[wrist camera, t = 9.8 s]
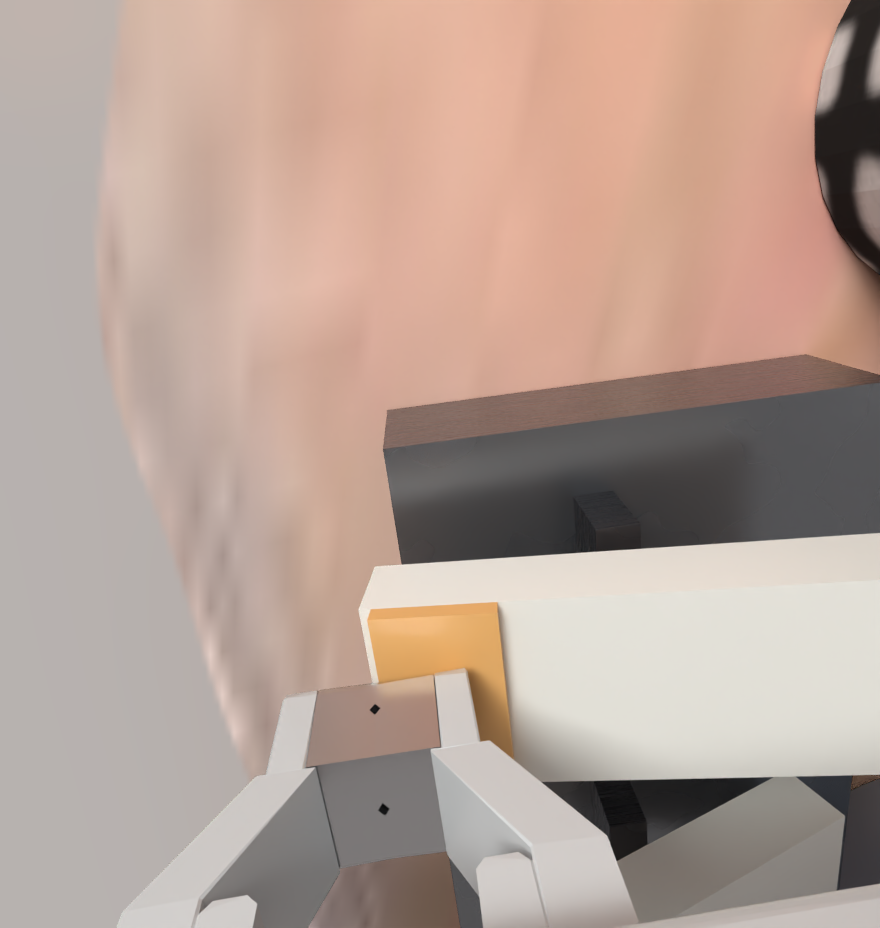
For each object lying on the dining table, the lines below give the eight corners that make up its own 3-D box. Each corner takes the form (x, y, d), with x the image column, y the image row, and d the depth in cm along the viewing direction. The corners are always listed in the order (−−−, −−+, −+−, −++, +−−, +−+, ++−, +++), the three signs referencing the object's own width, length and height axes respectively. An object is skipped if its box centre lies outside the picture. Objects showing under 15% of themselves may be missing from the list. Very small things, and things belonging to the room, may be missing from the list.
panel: (806, 354, 15) (966, 399, 11) (776, 804, 20) (880, 961, 15) (387, 410, 15) (379, 478, 11) (455, 848, 20) (469, 1018, 15)
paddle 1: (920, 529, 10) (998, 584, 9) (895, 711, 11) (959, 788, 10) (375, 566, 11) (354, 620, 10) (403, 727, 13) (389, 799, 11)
